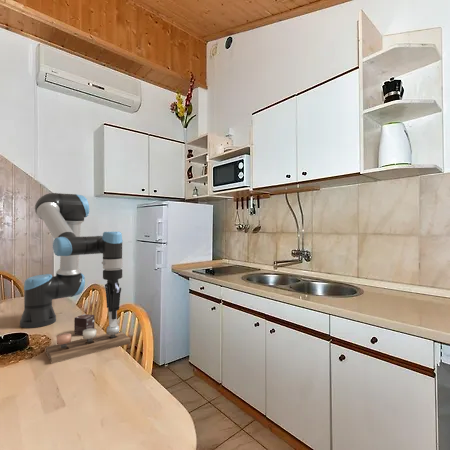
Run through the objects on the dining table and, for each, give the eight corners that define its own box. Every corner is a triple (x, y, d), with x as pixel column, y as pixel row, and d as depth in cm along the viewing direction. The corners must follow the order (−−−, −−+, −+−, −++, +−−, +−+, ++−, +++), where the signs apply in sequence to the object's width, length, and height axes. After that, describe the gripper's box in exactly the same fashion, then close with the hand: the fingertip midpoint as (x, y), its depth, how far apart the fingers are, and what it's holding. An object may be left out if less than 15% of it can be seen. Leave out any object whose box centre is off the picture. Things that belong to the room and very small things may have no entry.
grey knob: (105, 337, 123) (104, 326, 123) (116, 334, 126) (116, 324, 126) (108, 340, 119) (108, 329, 119) (120, 338, 122) (120, 327, 122)
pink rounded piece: (55, 346, 111) (55, 335, 111) (69, 343, 114) (69, 332, 114) (57, 351, 108) (57, 338, 108) (72, 347, 111) (72, 335, 111)
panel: (45, 352, 112) (45, 347, 112) (119, 335, 130) (119, 330, 130) (51, 363, 103) (51, 357, 103) (130, 343, 121) (130, 338, 121)
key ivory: (81, 341, 117) (81, 330, 117) (94, 338, 120) (94, 327, 120) (84, 345, 113) (84, 333, 113) (97, 342, 116) (97, 330, 116)
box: (86, 335, 130) (85, 318, 130) (73, 334, 131) (73, 317, 131) (94, 330, 136) (94, 314, 136) (83, 329, 137) (83, 313, 137)
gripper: (98, 268, 125) (98, 324, 125) (108, 271, 115) (108, 332, 115) (116, 266, 130) (116, 320, 130) (127, 269, 120) (128, 328, 120)
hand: (113, 326), depth 122 cm, fingers closed
